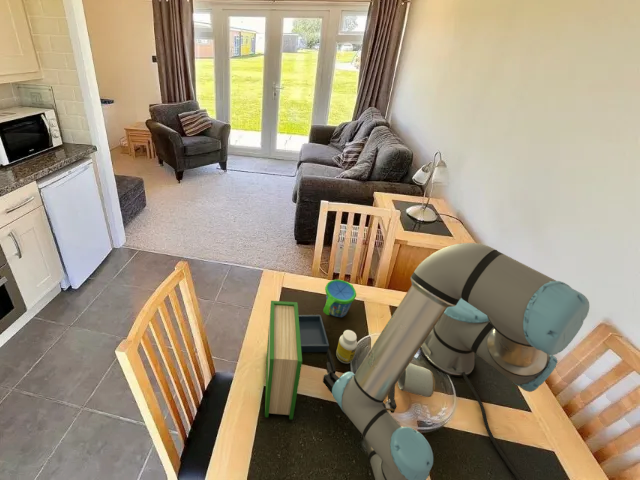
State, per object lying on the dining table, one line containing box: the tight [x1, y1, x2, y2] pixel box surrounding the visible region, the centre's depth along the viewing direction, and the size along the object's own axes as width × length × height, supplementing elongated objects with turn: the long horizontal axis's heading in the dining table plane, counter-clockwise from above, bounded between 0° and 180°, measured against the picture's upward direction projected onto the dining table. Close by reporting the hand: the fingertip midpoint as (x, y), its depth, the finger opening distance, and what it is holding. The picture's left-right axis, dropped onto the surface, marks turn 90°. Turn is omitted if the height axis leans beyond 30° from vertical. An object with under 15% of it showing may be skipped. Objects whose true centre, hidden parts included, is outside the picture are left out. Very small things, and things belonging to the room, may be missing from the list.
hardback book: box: [264, 300, 303, 420], centre depth 86 cm, size 18×7×24 cm, turn 177°
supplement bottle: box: [335, 329, 358, 364], centre depth 98 cm, size 5×5×10 cm
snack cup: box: [322, 279, 357, 318], centre depth 114 cm, size 16×10×10 cm
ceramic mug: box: [397, 362, 436, 398], centre depth 92 cm, size 11×8×8 cm
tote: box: [298, 314, 330, 353], centre depth 106 cm, size 12×12×3 cm
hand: (350, 352), depth 95 cm, fingers open, 13 cm apart
